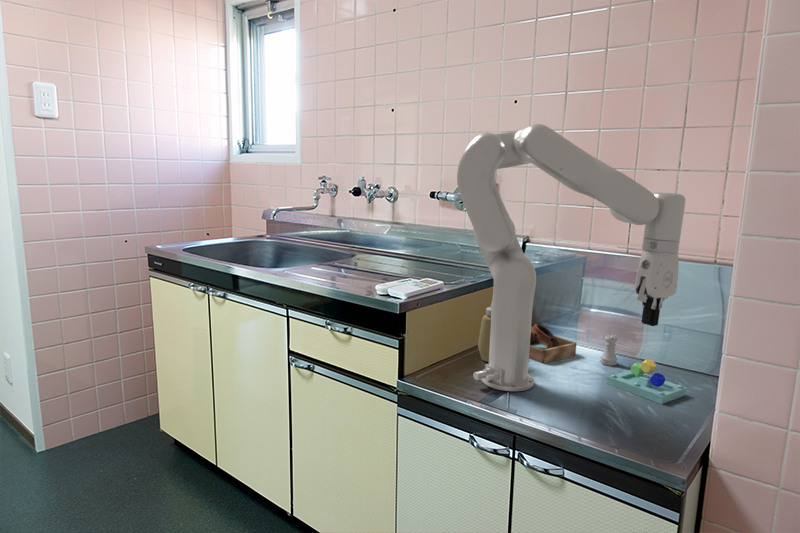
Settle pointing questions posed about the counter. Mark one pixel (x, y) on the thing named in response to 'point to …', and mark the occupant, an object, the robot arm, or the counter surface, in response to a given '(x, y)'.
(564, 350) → the tray
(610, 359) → the rook chess piece
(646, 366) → the multicolored ball cluster
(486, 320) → the squeeze bottle
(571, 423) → the counter surface
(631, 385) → the baseplate
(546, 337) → the pottery mug
